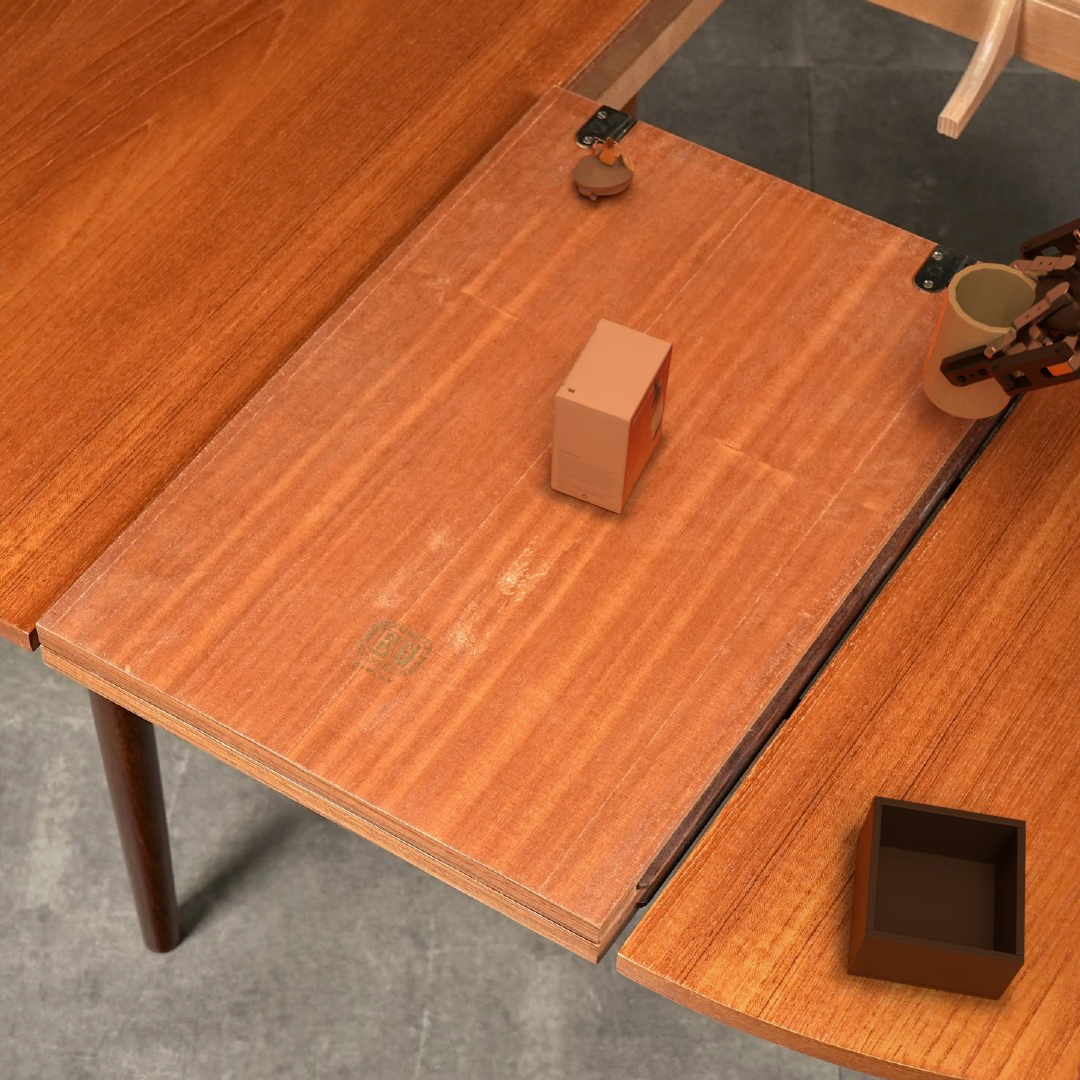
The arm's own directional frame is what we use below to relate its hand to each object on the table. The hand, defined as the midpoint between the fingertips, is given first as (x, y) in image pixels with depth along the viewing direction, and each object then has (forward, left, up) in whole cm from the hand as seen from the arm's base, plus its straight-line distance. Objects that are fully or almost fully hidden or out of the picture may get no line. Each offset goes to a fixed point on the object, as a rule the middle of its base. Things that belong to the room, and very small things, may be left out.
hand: (957, 337), depth 118 cm
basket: (-27, +28, -9) cm, 40 cm away
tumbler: (-1, -1, -4) cm, 5 cm away
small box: (+12, +21, -10) cm, 26 cm away
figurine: (+34, +3, -10) cm, 35 cm away
